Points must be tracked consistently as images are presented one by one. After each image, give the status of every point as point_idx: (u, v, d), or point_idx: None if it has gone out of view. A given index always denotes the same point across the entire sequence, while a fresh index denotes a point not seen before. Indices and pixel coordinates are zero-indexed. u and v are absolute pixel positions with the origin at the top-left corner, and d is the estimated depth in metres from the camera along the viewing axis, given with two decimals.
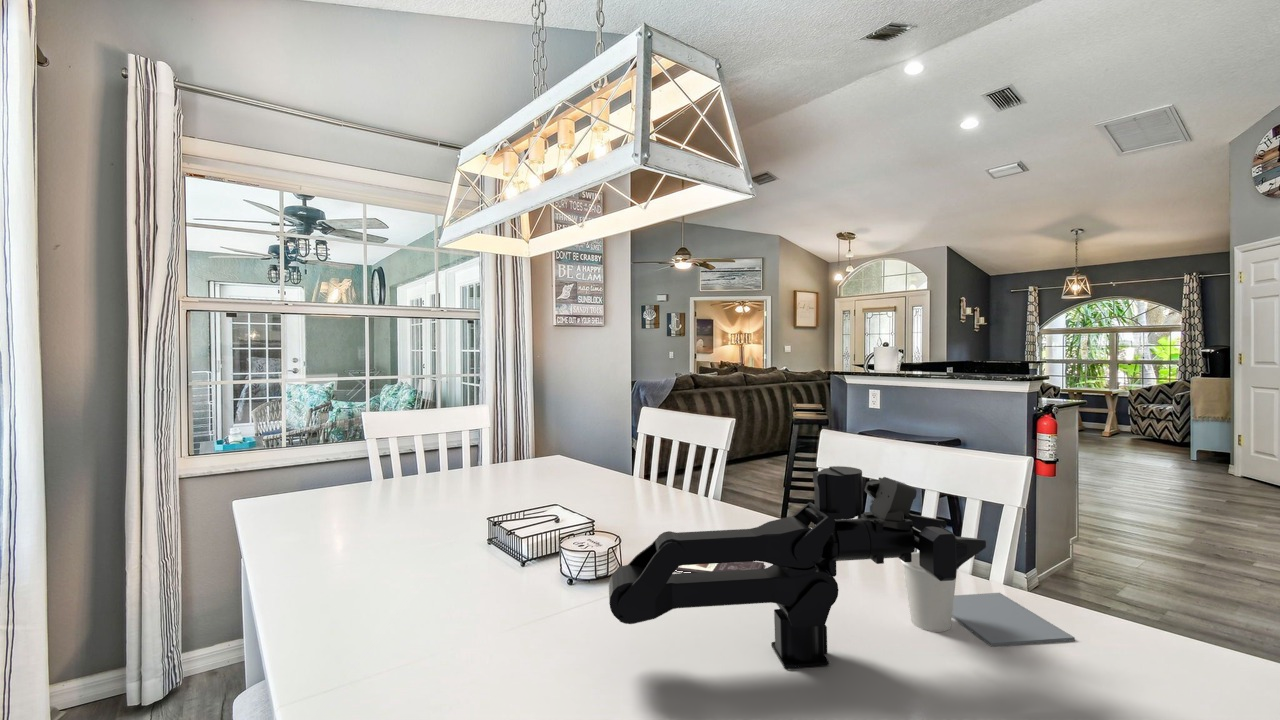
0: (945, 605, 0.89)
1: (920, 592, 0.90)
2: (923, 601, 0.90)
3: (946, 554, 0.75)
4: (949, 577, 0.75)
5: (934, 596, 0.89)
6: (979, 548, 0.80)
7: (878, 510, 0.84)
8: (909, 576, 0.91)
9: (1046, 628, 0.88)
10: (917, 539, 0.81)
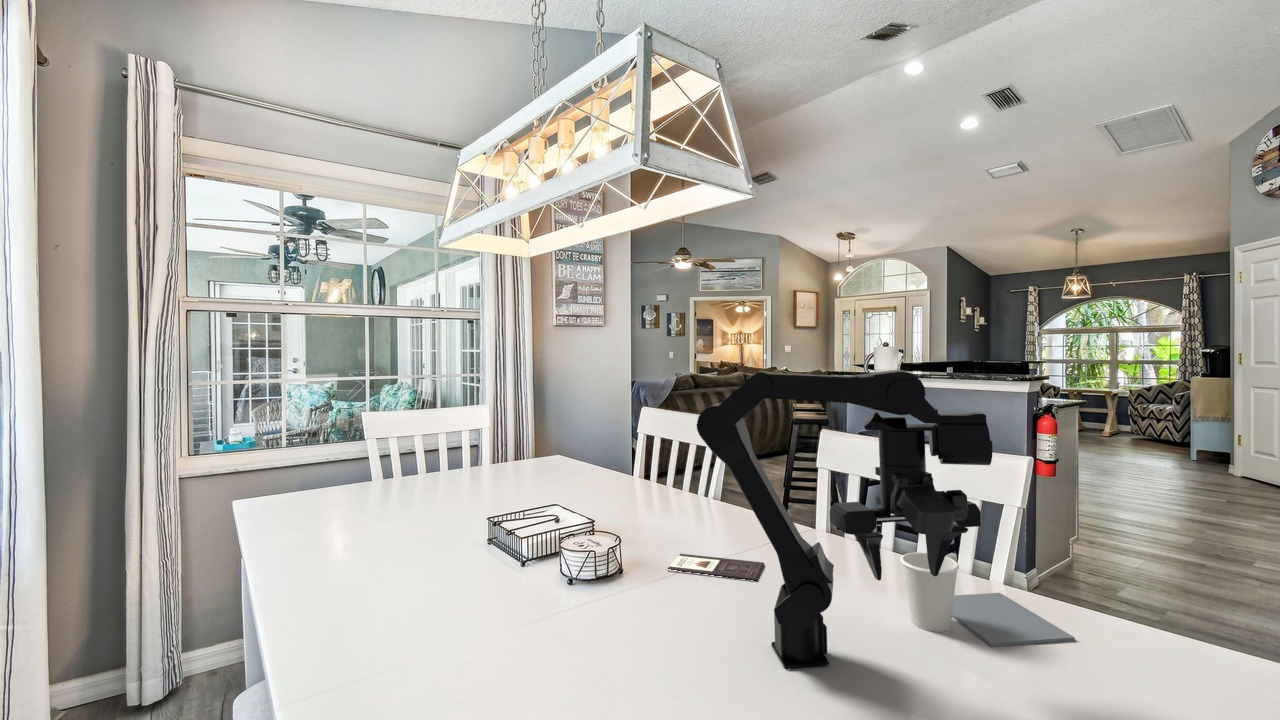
0: (945, 605, 0.89)
1: (920, 592, 0.90)
2: (923, 601, 0.90)
3: (839, 520, 0.77)
4: None
5: (934, 596, 0.89)
6: (872, 569, 0.78)
7: (922, 489, 0.74)
8: (909, 576, 0.91)
9: (1046, 628, 0.88)
10: (885, 514, 0.77)
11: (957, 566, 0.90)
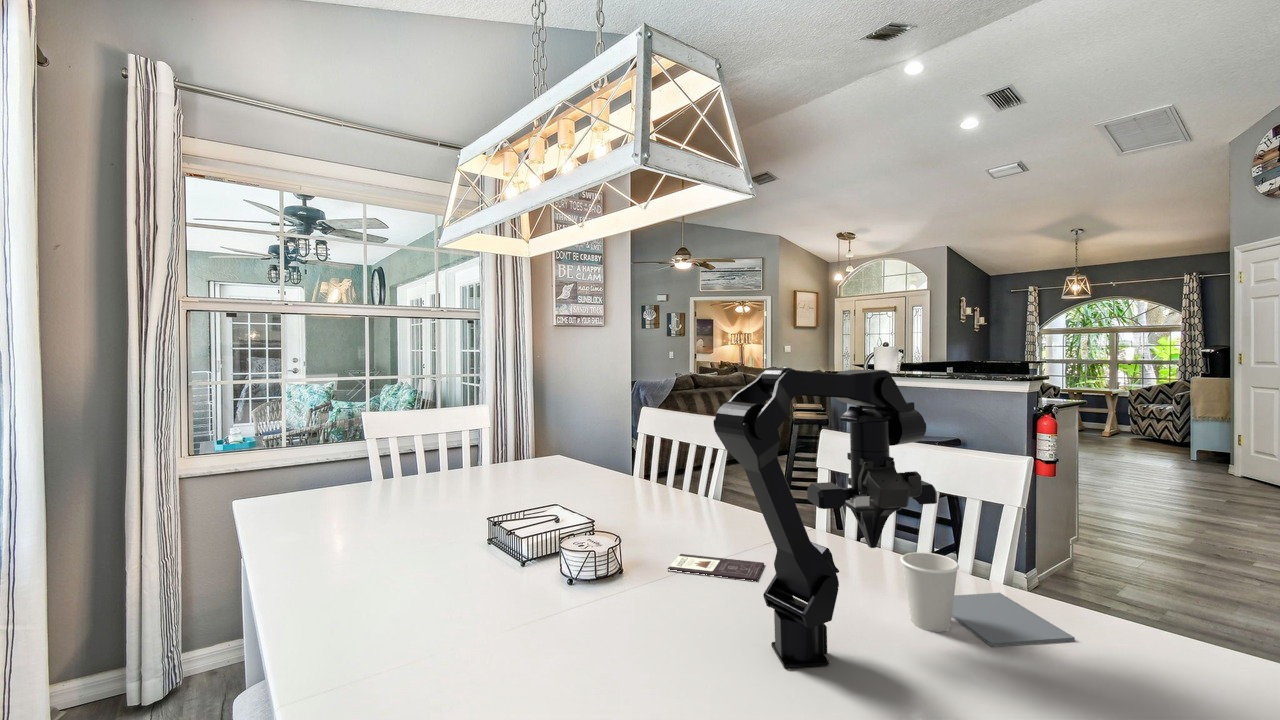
0: (945, 605, 0.89)
1: (920, 592, 0.90)
2: (923, 601, 0.90)
3: (814, 497, 0.90)
4: (807, 494, 0.93)
5: (934, 596, 0.89)
6: (866, 539, 0.91)
7: (884, 471, 0.87)
8: (909, 576, 0.91)
9: (1046, 628, 0.88)
10: (854, 493, 0.90)
11: (957, 566, 0.90)
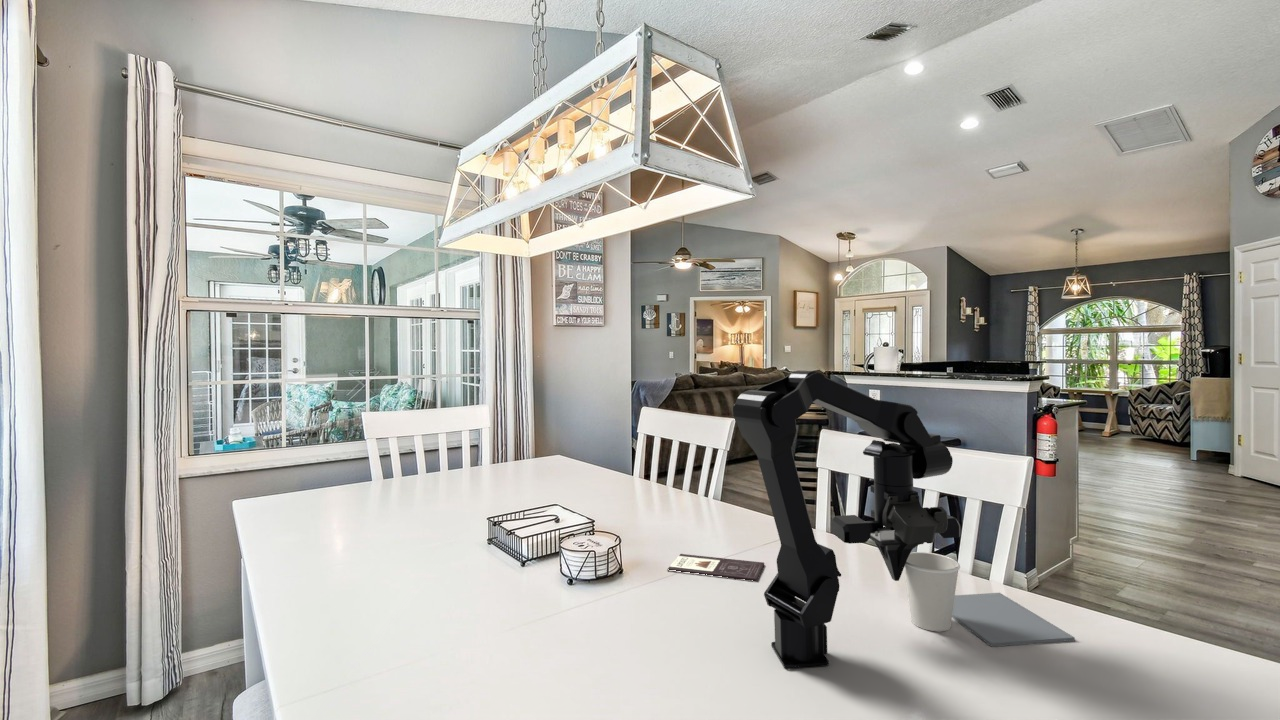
0: (946, 605, 0.89)
1: (921, 591, 0.90)
2: (923, 601, 0.90)
3: (839, 530, 0.90)
4: (831, 526, 0.93)
5: (935, 596, 0.89)
6: (890, 571, 0.92)
7: (909, 506, 0.88)
8: (910, 575, 0.91)
9: (1046, 628, 0.88)
10: (878, 526, 0.91)
11: (958, 566, 0.90)
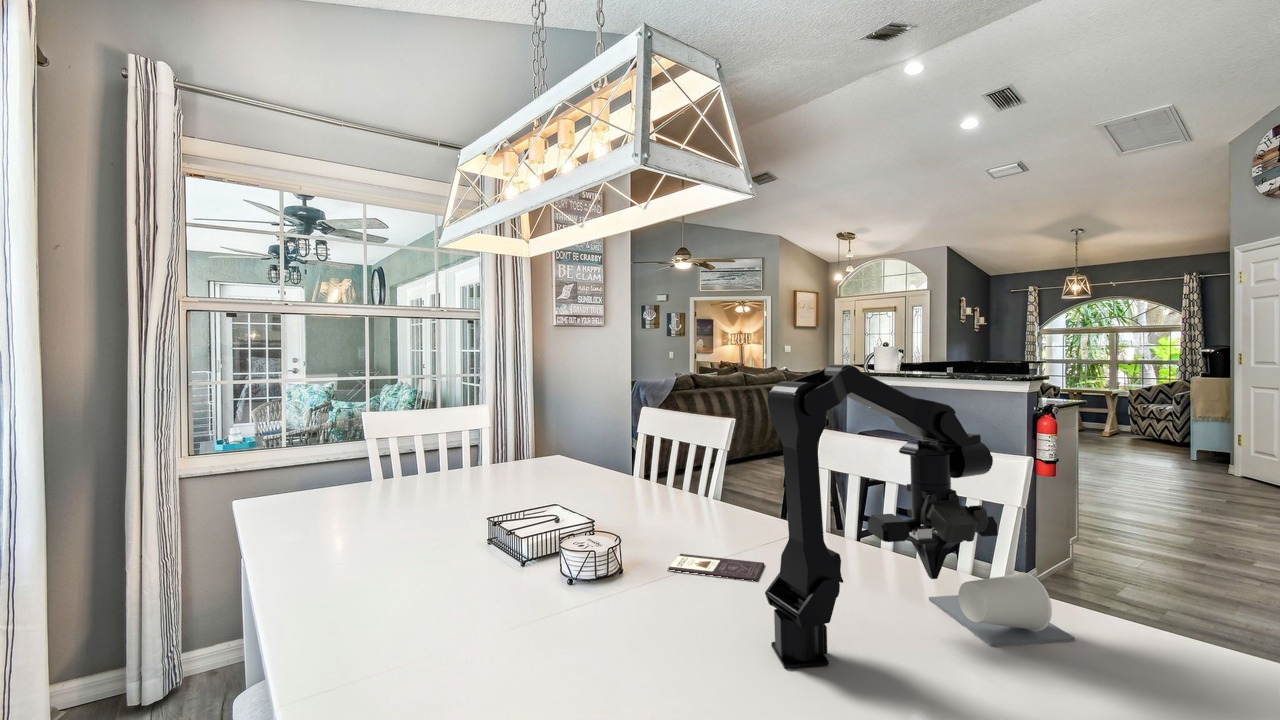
0: (1003, 625, 0.86)
1: (1025, 611, 0.84)
2: (1016, 613, 0.84)
3: (877, 529, 0.91)
4: None
5: (1020, 622, 0.85)
6: (926, 569, 0.93)
7: (948, 504, 0.88)
8: (1037, 599, 0.85)
9: (1046, 628, 0.88)
10: (915, 525, 0.91)
11: None
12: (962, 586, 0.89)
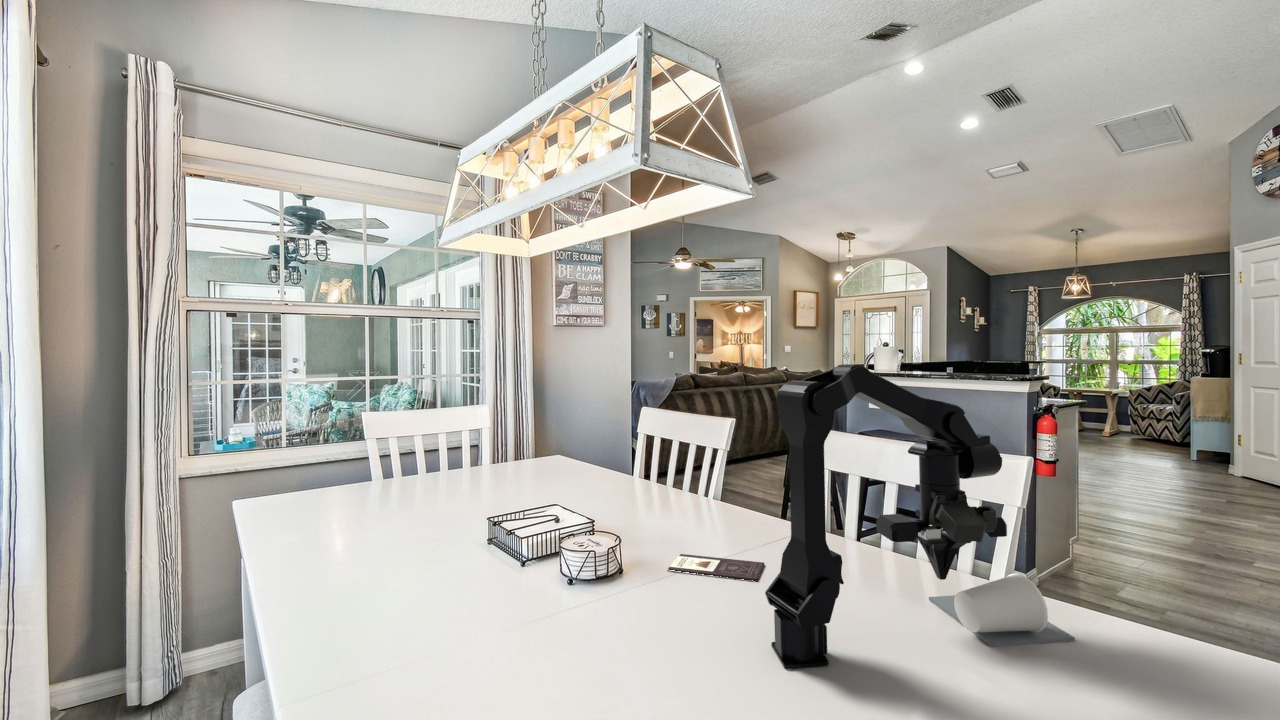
0: (1001, 631, 0.86)
1: (1021, 615, 0.84)
2: (1011, 618, 0.84)
3: (885, 529, 0.91)
4: (876, 525, 0.94)
5: (1017, 626, 0.85)
6: (935, 570, 0.93)
7: (957, 505, 0.88)
8: (1030, 601, 0.85)
9: (1046, 628, 0.88)
10: (924, 525, 0.91)
11: None
12: (956, 596, 0.89)
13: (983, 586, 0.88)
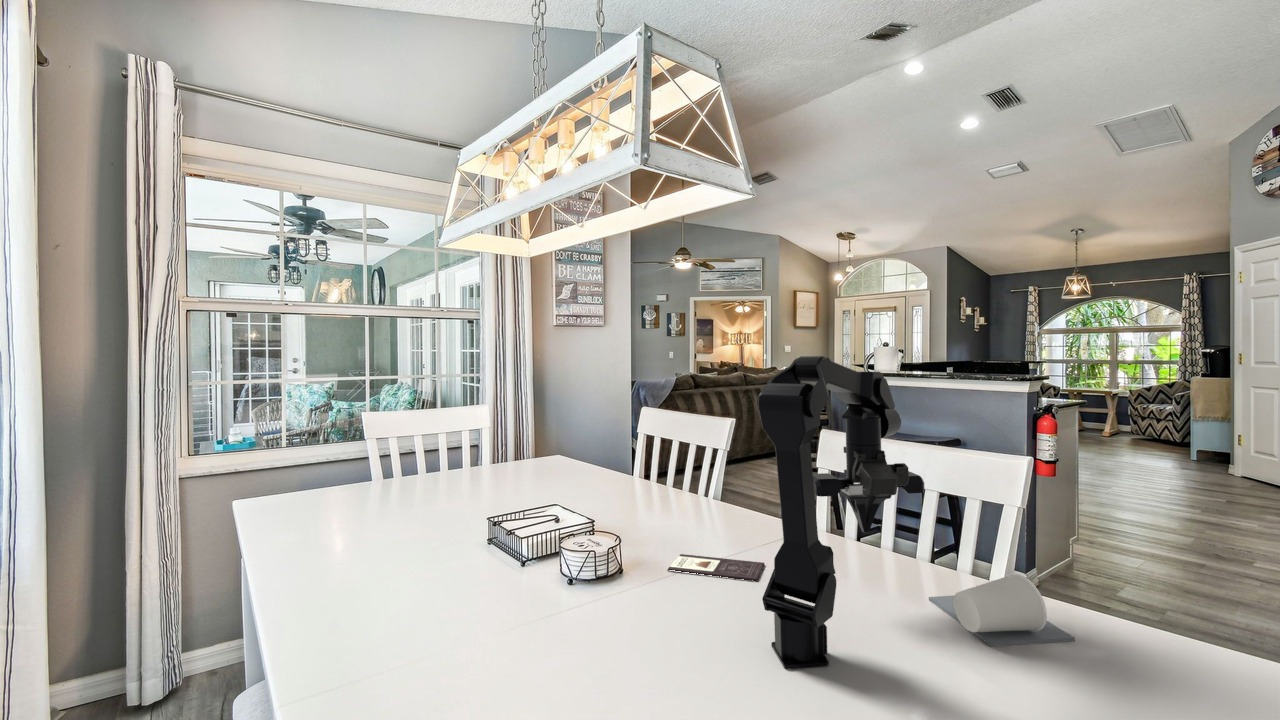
0: None
1: (1020, 614, 0.84)
2: (1010, 617, 0.84)
3: None
4: None
5: (1017, 626, 0.85)
6: (859, 524, 1.01)
7: (876, 463, 0.97)
8: (1029, 599, 0.85)
9: (1046, 628, 0.88)
10: (848, 483, 1.00)
11: None
12: (955, 597, 0.89)
13: (981, 586, 0.88)
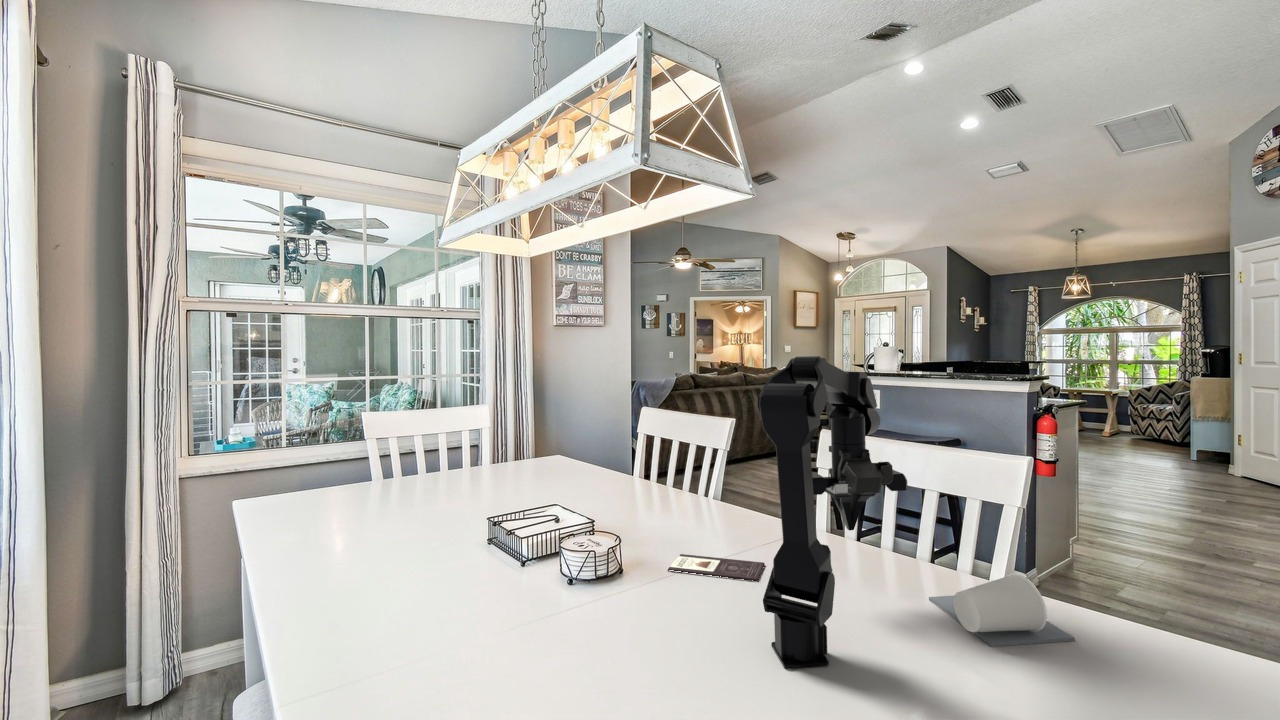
0: None
1: (1020, 614, 0.84)
2: (1010, 617, 0.84)
3: None
4: None
5: (1017, 625, 0.85)
6: (845, 522, 1.03)
7: (860, 461, 0.98)
8: (1029, 599, 0.85)
9: (1046, 628, 0.88)
10: (834, 481, 1.02)
11: None
12: (955, 597, 0.89)
13: (981, 586, 0.88)
